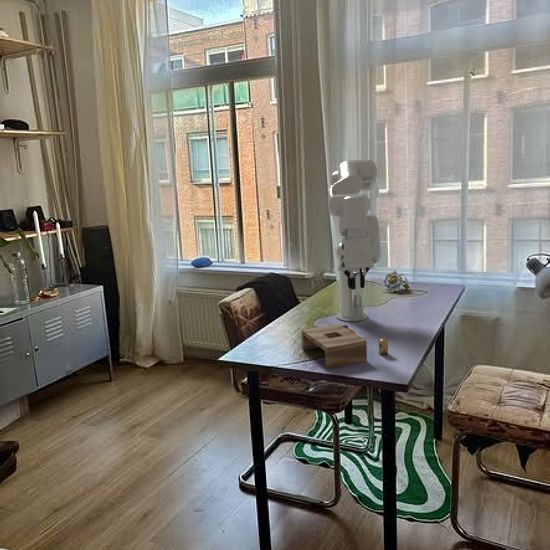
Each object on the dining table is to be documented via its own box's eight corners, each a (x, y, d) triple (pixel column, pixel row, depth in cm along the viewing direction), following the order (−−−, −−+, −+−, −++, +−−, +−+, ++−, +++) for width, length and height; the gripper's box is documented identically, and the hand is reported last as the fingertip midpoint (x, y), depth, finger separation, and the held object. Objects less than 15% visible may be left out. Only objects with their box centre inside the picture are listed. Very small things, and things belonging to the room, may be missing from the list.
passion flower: (392, 303, 255) (377, 284, 254) (395, 293, 264) (380, 275, 263) (411, 292, 249) (396, 272, 248) (414, 282, 258) (399, 263, 257)
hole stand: (302, 349, 184) (301, 330, 183) (338, 342, 189) (337, 323, 187) (327, 368, 166) (326, 347, 164) (366, 361, 170) (366, 340, 169)
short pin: (377, 353, 177) (376, 339, 176) (384, 351, 178) (384, 337, 177) (381, 356, 174) (381, 341, 173) (389, 354, 175) (389, 340, 174)
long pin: (350, 306, 180) (350, 272, 178) (358, 305, 181) (357, 271, 179) (355, 308, 177) (354, 273, 175) (363, 307, 178) (362, 272, 176)
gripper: (338, 237, 168) (340, 293, 171) (382, 232, 174) (383, 287, 177) (327, 235, 175) (329, 289, 178) (370, 230, 180) (371, 283, 184)
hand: (356, 287), depth 178 cm, fingers closed on long pin, 3 cm apart
